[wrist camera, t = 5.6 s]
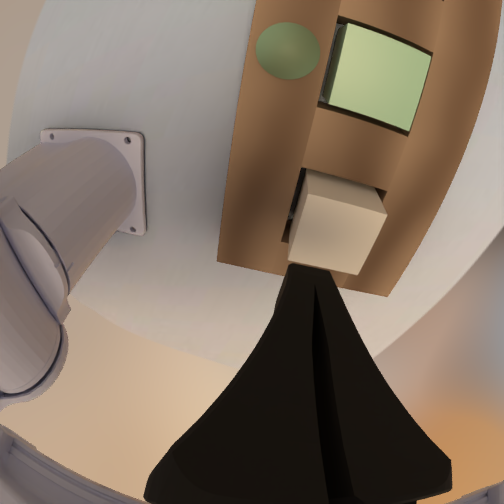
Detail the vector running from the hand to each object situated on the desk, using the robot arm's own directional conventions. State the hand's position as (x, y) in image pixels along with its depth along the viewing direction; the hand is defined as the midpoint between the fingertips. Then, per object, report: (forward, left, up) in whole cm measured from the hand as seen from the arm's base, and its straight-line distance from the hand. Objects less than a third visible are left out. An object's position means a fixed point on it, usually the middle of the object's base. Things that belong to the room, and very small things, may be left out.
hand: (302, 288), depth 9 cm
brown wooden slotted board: (+2, +7, -9) cm, 12 cm away
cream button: (+2, -1, -8) cm, 8 cm away
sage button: (+2, +7, -9) cm, 12 cm away
